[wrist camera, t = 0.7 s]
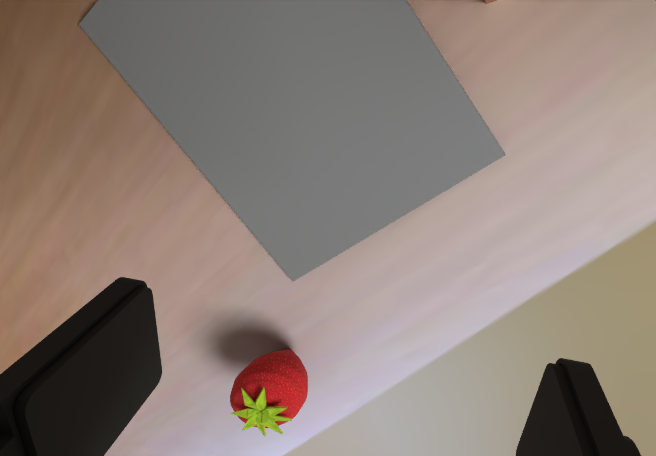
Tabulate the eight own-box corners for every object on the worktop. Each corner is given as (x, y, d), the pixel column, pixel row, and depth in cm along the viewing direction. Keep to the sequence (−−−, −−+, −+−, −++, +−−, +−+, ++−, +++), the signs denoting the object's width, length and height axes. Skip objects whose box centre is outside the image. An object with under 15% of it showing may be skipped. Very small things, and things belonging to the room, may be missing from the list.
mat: (272, -208, 26) (269, -213, 26) (504, 152, 32) (505, 155, 31) (84, 24, 34) (78, 24, 34) (294, 278, 40) (292, 281, 39)
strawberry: (241, 346, 45) (193, 427, 36) (294, 312, 42) (256, 392, 33) (280, 386, 46) (243, 474, 37) (335, 356, 43) (309, 444, 34)
